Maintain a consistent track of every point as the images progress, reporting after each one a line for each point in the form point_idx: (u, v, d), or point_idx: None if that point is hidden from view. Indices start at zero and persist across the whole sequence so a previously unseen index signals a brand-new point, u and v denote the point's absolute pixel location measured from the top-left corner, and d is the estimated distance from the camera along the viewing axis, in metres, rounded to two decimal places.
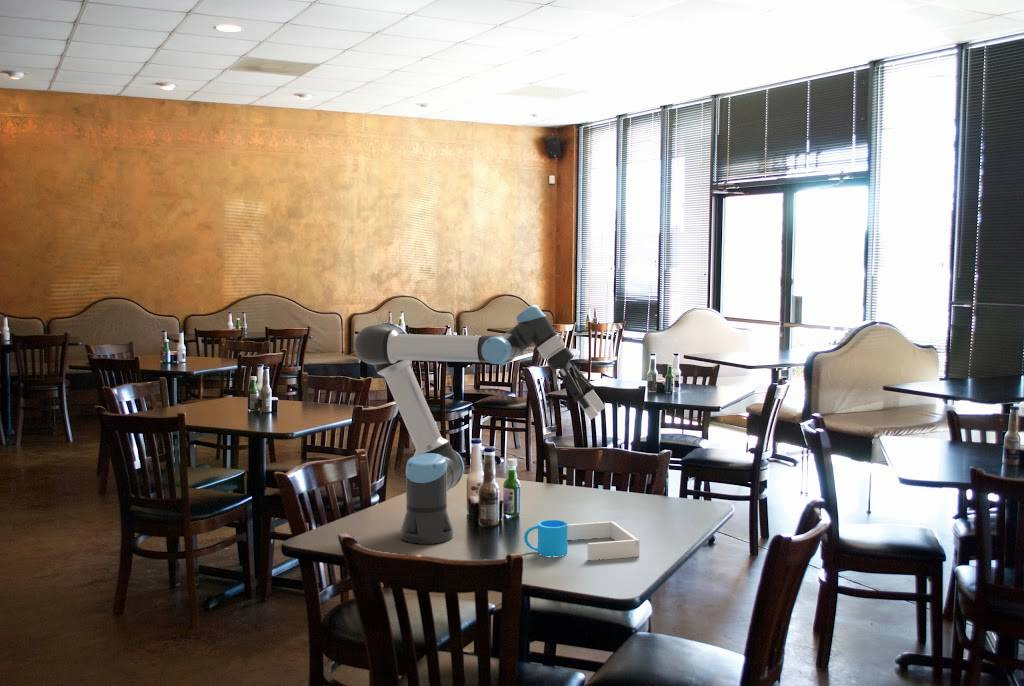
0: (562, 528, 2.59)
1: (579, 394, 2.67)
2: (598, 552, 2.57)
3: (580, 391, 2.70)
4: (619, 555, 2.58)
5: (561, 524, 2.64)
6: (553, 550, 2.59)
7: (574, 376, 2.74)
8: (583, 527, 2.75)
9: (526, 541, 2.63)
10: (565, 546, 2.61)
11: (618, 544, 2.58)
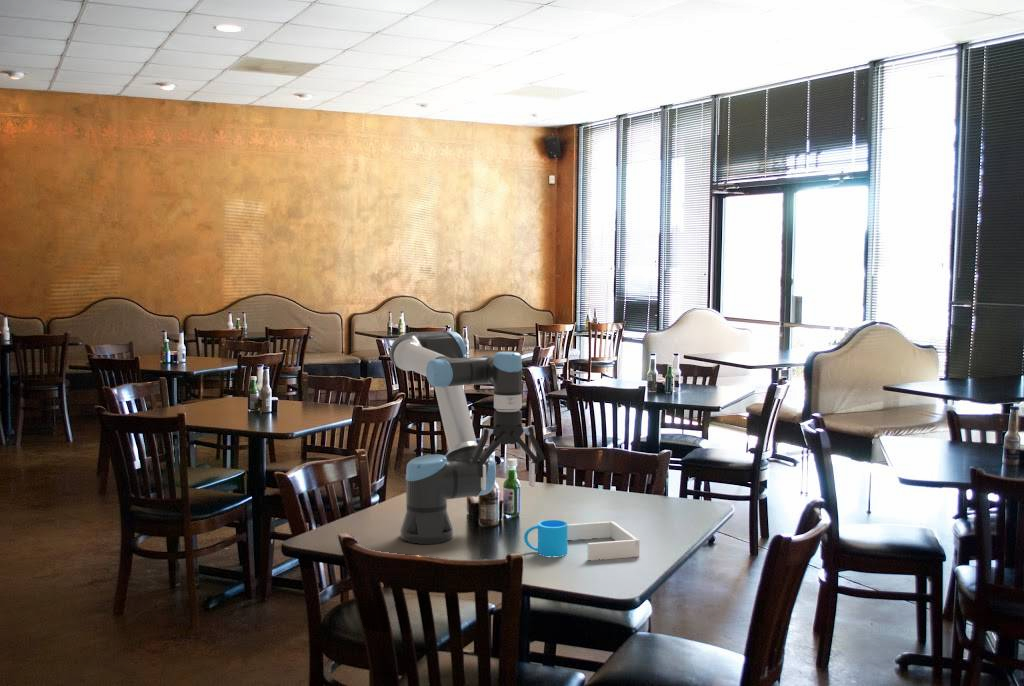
0: (562, 528, 2.59)
1: None
2: (598, 552, 2.57)
3: (481, 459, 2.55)
4: (619, 555, 2.58)
5: (561, 524, 2.64)
6: (553, 550, 2.59)
7: (495, 442, 2.56)
8: (583, 527, 2.75)
9: (526, 541, 2.63)
10: (565, 546, 2.61)
11: (618, 544, 2.58)
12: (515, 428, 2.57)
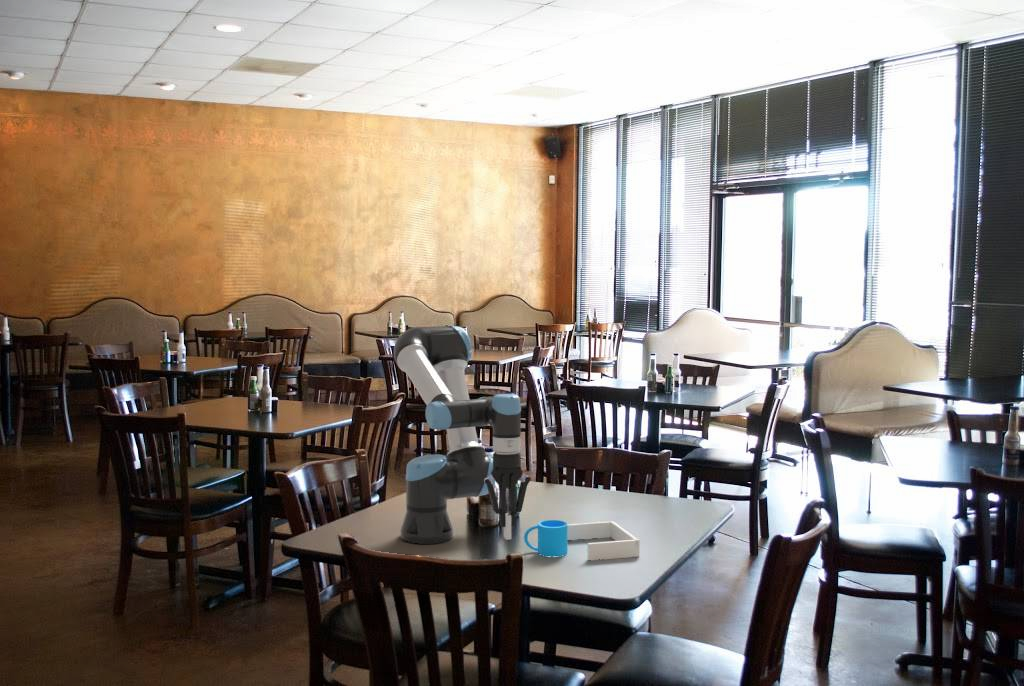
0: (562, 528, 2.59)
1: (495, 512, 2.58)
2: (598, 552, 2.57)
3: (501, 510, 2.58)
4: (619, 555, 2.58)
5: (561, 524, 2.64)
6: (553, 550, 2.59)
7: (501, 489, 2.57)
8: (583, 527, 2.75)
9: (526, 541, 2.63)
10: (565, 546, 2.61)
11: (618, 544, 2.58)
12: (517, 468, 2.58)
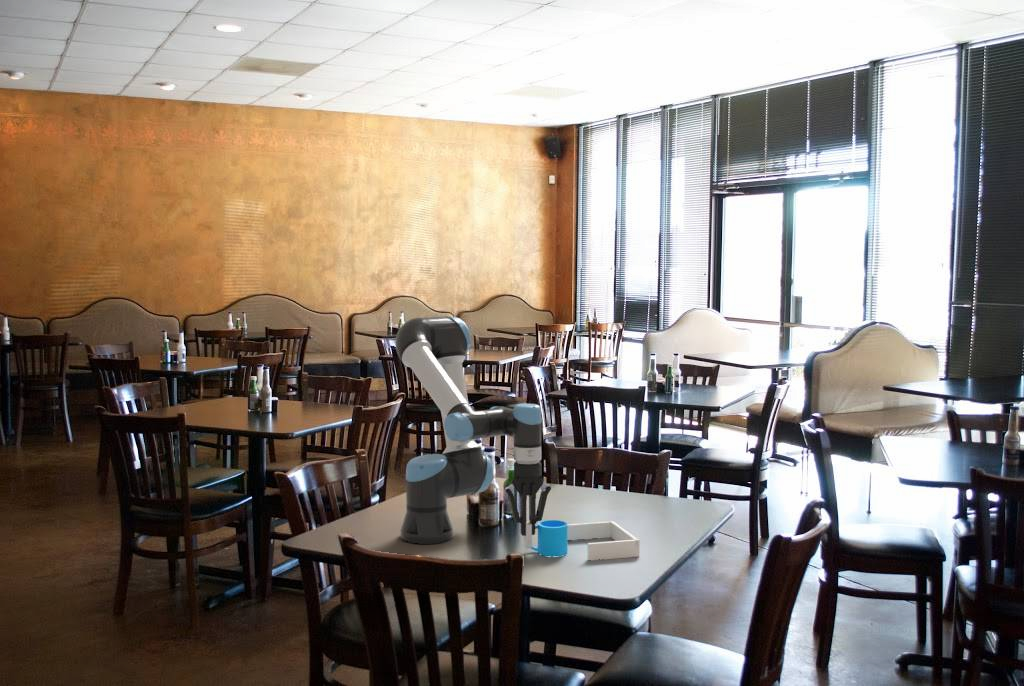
0: (562, 528, 2.59)
1: (516, 521, 2.59)
2: (598, 552, 2.57)
3: (522, 519, 2.59)
4: (619, 555, 2.58)
5: (561, 524, 2.64)
6: (553, 550, 2.59)
7: (522, 498, 2.59)
8: (583, 527, 2.75)
9: None
10: (565, 546, 2.61)
11: (618, 544, 2.58)
12: (537, 477, 2.60)
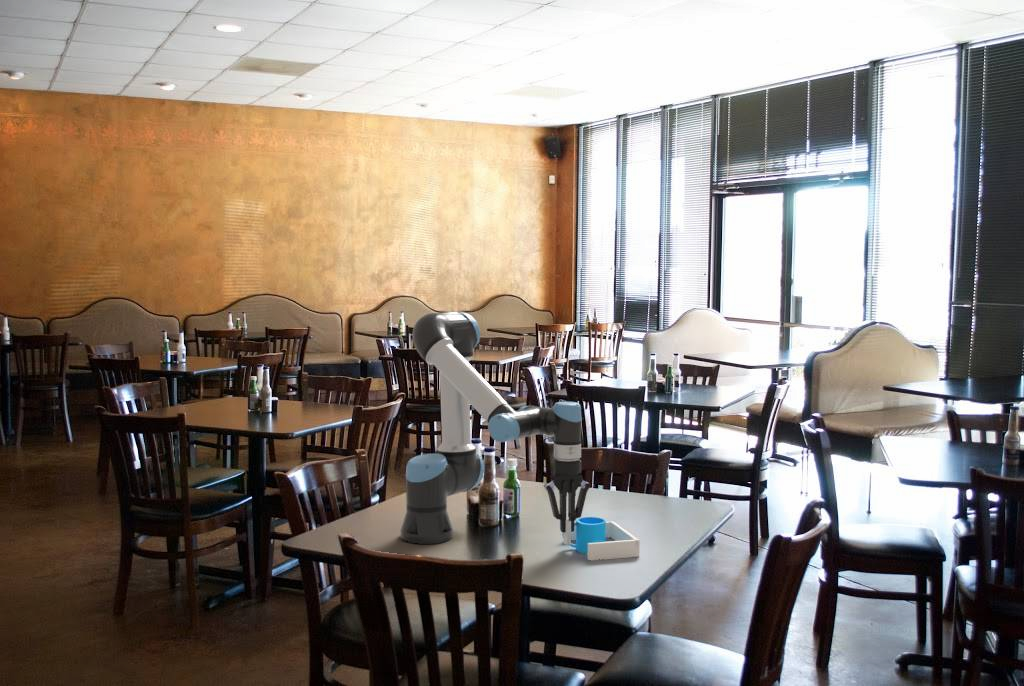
0: (601, 525, 2.62)
1: (556, 518, 2.62)
2: (598, 552, 2.57)
3: (562, 516, 2.62)
4: (619, 555, 2.58)
5: (599, 521, 2.67)
6: None
7: (562, 495, 2.61)
8: None
9: None
10: None
11: (618, 544, 2.58)
12: (577, 474, 2.62)
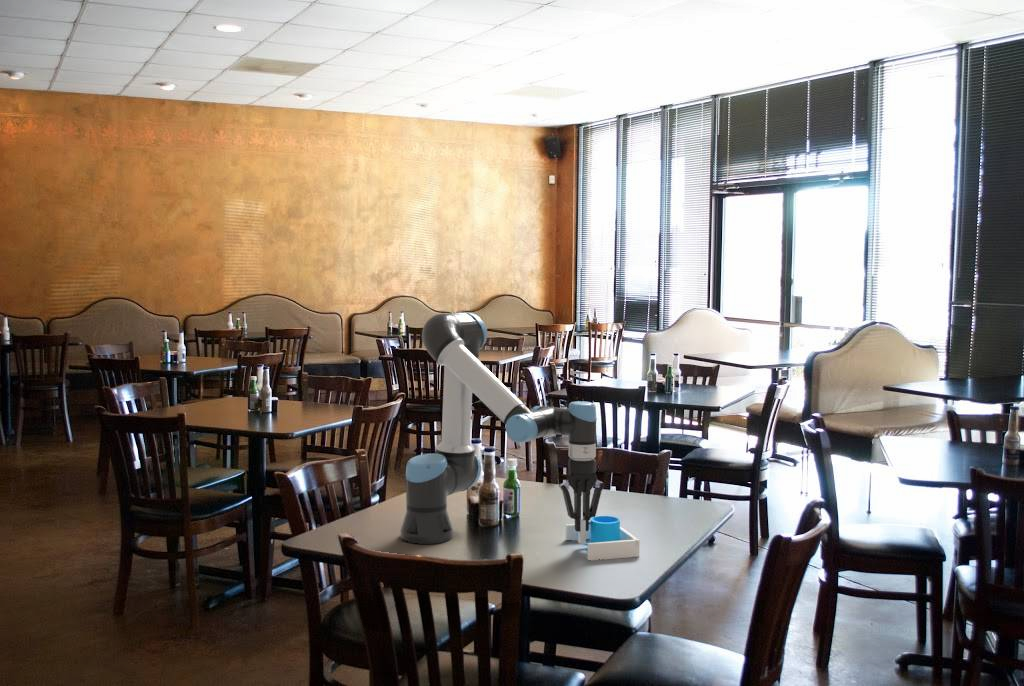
0: (616, 523, 2.64)
1: (571, 517, 2.63)
2: (598, 552, 2.57)
3: (576, 515, 2.63)
4: (619, 555, 2.58)
5: (612, 519, 2.69)
6: None
7: (577, 494, 2.63)
8: None
9: None
10: None
11: (618, 544, 2.58)
12: (592, 474, 2.64)
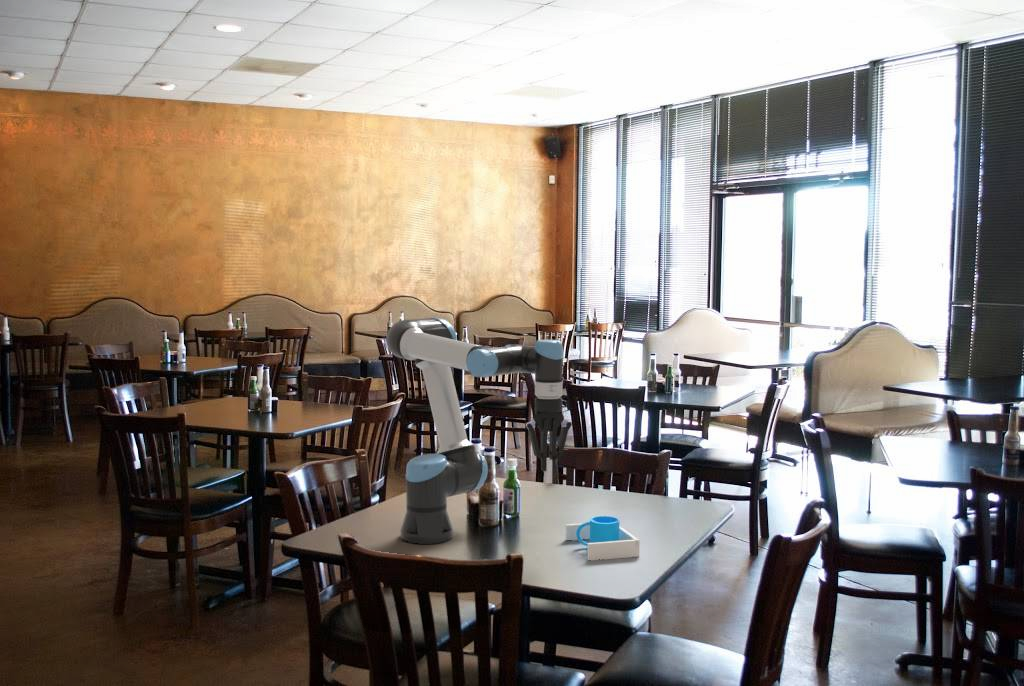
0: (615, 524, 2.63)
1: (537, 457, 2.60)
2: (598, 552, 2.57)
3: (542, 454, 2.60)
4: (619, 555, 2.58)
5: (612, 520, 2.69)
6: None
7: (543, 433, 2.59)
8: (583, 527, 2.75)
9: (578, 537, 2.67)
10: None
11: (618, 544, 2.58)
12: (558, 413, 2.60)
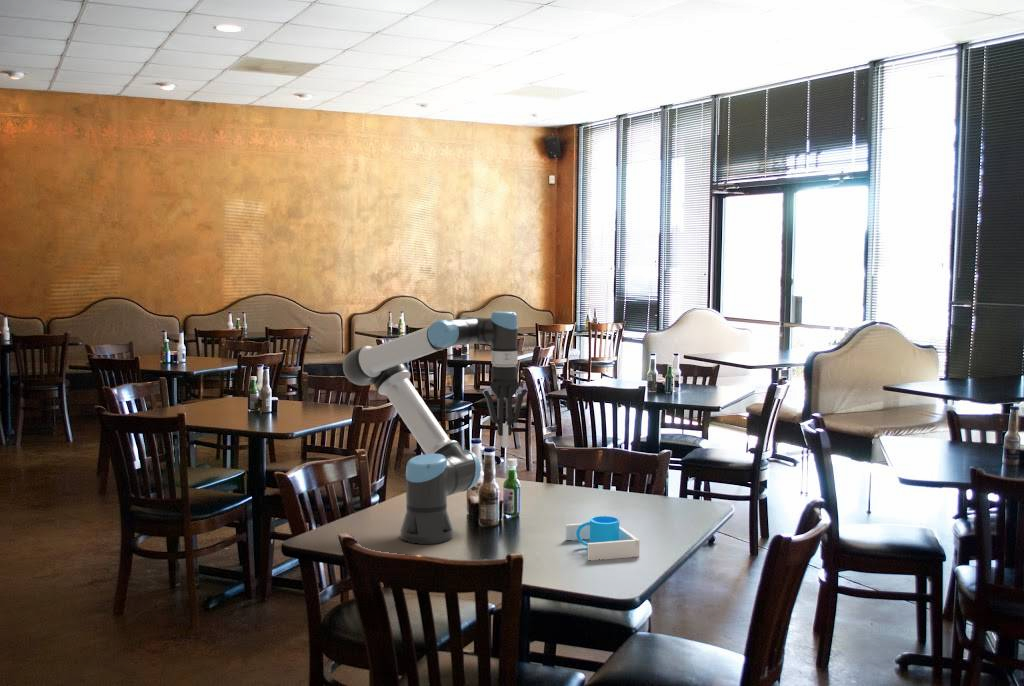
0: (615, 524, 2.63)
1: None
2: (598, 552, 2.57)
3: (499, 420, 2.75)
4: (619, 555, 2.58)
5: (612, 520, 2.69)
6: None
7: (499, 400, 2.74)
8: (583, 527, 2.75)
9: (578, 537, 2.67)
10: None
11: (618, 544, 2.58)
12: (514, 380, 2.75)
